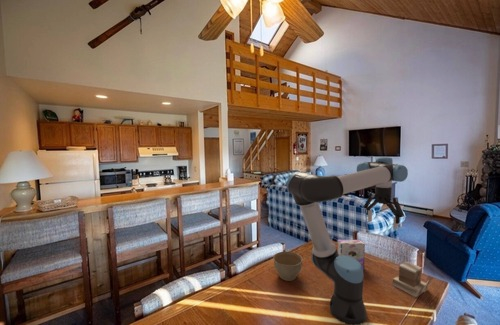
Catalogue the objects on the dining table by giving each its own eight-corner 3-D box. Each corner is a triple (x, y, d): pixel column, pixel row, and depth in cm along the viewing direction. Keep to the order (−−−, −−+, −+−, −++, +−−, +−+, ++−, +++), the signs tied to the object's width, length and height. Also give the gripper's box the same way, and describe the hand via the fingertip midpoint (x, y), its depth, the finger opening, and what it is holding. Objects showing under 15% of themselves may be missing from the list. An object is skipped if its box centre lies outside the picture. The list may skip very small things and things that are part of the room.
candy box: (360, 265, 138) (361, 239, 137) (364, 270, 132) (365, 243, 131) (337, 264, 139) (337, 238, 138) (340, 269, 134) (340, 243, 132)
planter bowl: (308, 279, 124) (308, 261, 123) (284, 288, 117) (283, 268, 116) (291, 265, 139) (291, 248, 138) (268, 272, 132) (268, 254, 131)
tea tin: (414, 287, 111) (415, 272, 110) (398, 280, 117) (399, 265, 116) (420, 282, 115) (421, 267, 114) (405, 275, 121) (406, 261, 120)
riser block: (415, 298, 109) (416, 290, 109) (392, 285, 119) (392, 278, 118) (427, 291, 114) (427, 283, 114) (403, 279, 124) (404, 272, 123)
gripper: (413, 189, 110) (411, 231, 112) (365, 182, 132) (364, 217, 134) (405, 191, 106) (403, 234, 108) (357, 183, 128) (356, 219, 130)
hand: (381, 225), depth 121 cm, fingers open, 13 cm apart
